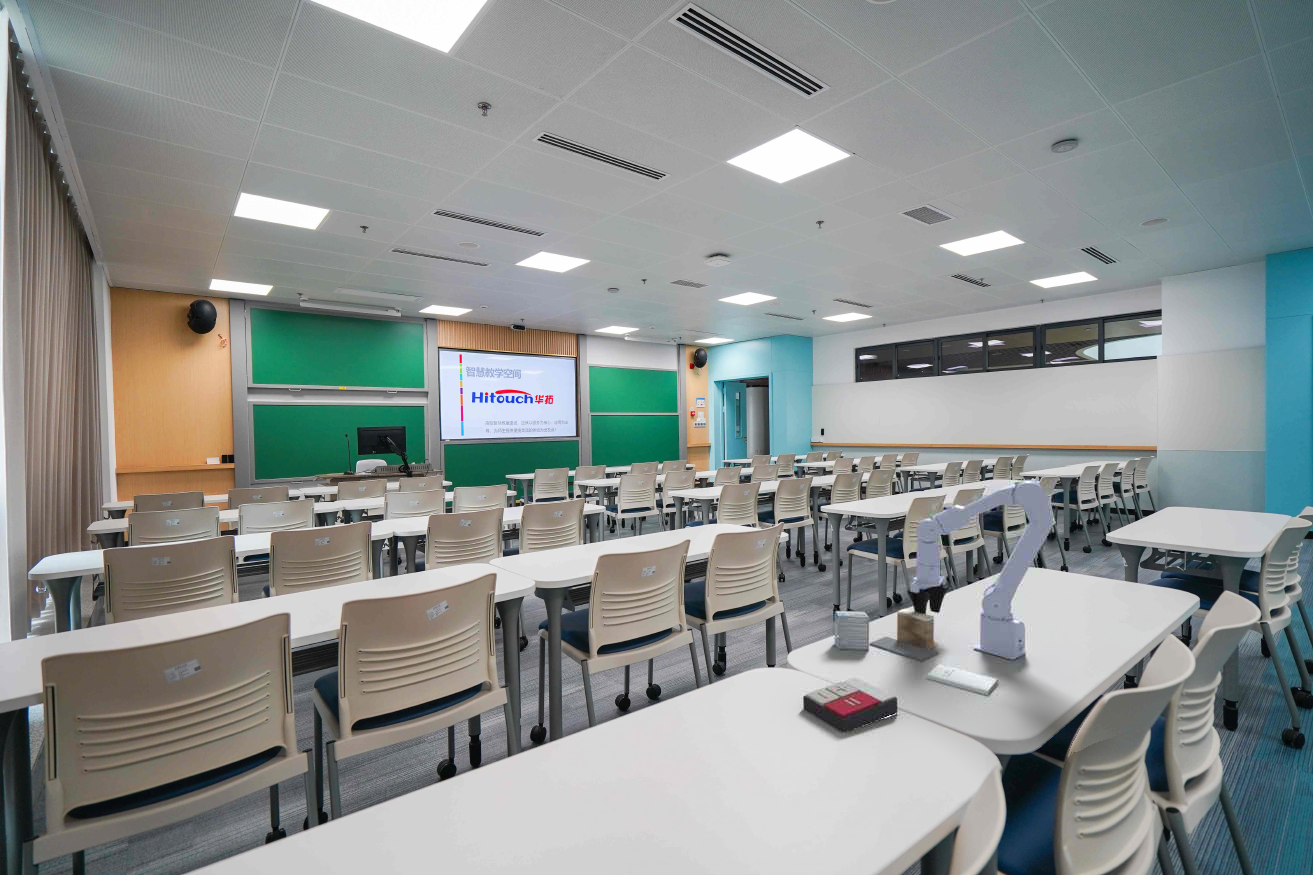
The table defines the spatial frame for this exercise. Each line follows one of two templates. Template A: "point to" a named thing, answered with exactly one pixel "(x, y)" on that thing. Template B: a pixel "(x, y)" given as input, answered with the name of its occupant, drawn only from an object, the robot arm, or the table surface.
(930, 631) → the block
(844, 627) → the medicine box
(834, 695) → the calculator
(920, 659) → the mat
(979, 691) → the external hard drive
